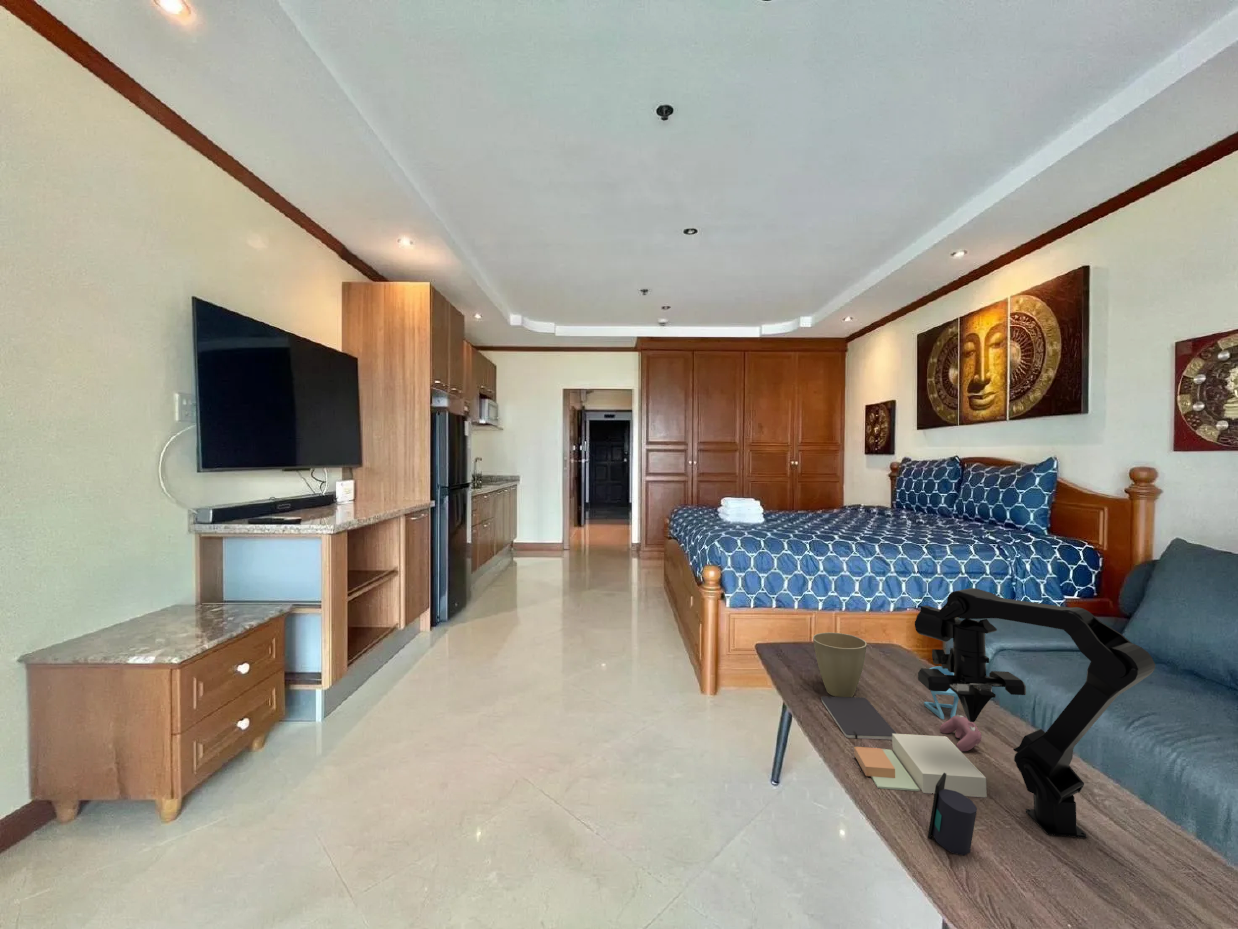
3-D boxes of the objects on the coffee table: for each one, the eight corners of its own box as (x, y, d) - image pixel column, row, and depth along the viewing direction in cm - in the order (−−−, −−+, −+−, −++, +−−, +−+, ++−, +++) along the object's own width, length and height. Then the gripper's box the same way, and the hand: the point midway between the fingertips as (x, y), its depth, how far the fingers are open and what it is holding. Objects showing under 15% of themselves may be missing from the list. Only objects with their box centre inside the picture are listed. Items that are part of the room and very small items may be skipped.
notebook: (899, 742, 124) (865, 702, 145) (899, 736, 124) (865, 697, 145) (846, 740, 125) (820, 701, 146) (846, 734, 125) (820, 696, 146)
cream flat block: (986, 797, 102) (986, 777, 102) (923, 793, 103) (922, 773, 103) (946, 753, 117) (946, 736, 118) (892, 750, 119) (892, 733, 119)
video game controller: (975, 760, 117) (989, 734, 117) (956, 750, 118) (970, 724, 118) (954, 738, 127) (967, 714, 127) (936, 729, 128) (949, 705, 127)
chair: (931, 718, 134) (930, 674, 134) (923, 704, 142) (922, 662, 142) (965, 722, 132) (964, 677, 132) (955, 708, 140) (954, 665, 140)
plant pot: (875, 705, 142) (873, 649, 142) (820, 702, 144) (819, 647, 144) (858, 683, 156) (857, 632, 157) (809, 681, 159) (808, 631, 159)
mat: (919, 791, 104) (919, 789, 104) (877, 788, 105) (877, 786, 105) (891, 751, 119) (891, 749, 119) (854, 749, 120) (854, 747, 120)
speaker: (915, 830, 92) (921, 777, 92) (936, 823, 95) (942, 770, 94) (957, 864, 85) (963, 806, 85) (978, 855, 88) (985, 799, 87)
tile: (865, 766, 109) (865, 775, 109) (895, 768, 108) (895, 778, 108) (854, 746, 117) (854, 755, 117) (881, 748, 116) (881, 757, 116)
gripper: (994, 637, 114) (996, 706, 113) (906, 634, 116) (908, 701, 116) (1026, 655, 103) (1028, 731, 102) (929, 651, 105) (930, 726, 105)
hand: (971, 721), depth 107 cm, fingers closed
